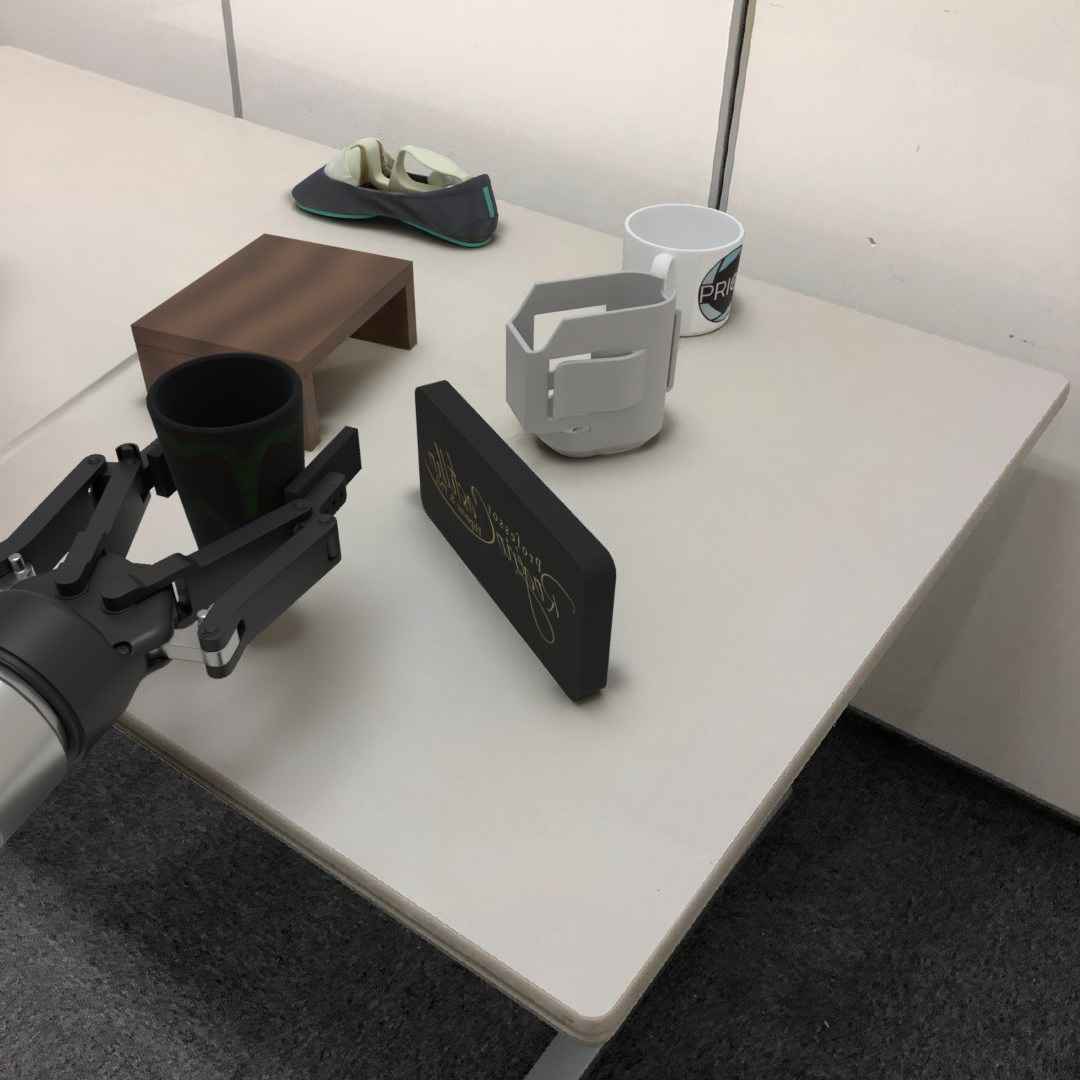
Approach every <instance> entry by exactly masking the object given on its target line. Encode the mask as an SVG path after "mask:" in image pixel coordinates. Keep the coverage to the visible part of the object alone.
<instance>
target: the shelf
mask: <svg viewBox="0 0 1080 1080" xmlns="http://www.w3.org/2000/svg"><path fill="white" fill-rule="evenodd" d="M414 276H415V275H414V261H413V260H409V259H403V258H398V257H393V256H387V255H382V254H379V253H371V252H367V251H361V250H356V249H351V248H346V247H340V246H339V247H338V246H334V245H329V244H323V243H318V242H313V241H307V240H302V239H296V238H291V237H286V236H282V235H281V236H280V235H275V234H271V233H264V232H263V234H261V235H260V236H258V237H257V238H255V239H254V240H252V241H251V242H249V243H248V244H247V245H245V246H243V247H242V248H240V249H239V250H238V251H236V252H235V253H233V254H232V255H230V256H228V257H227V258H226V259H224V260H223V261H222V262H220V263H219V264H217V265H216V266H214V267H213V268H211V269H210V270H208V271H207V272H206V273H204V274H202V275H201V276H199V277H198V278H197V279H195V280H194V281H192V282H191V283H189V284H188V285H186V286H185V287H183V288H182V289H180V290H179V291H178V292H176V293H175V294H173V295H172V296H170V297H169V298H167V299H165V301H163V302H162V303H160V304H159V305H157V306H156V307H154V308H153V309H151V310H150V311H149V312H147V313H145V314H144V315H143V316H141V317H140V318H138V319H137V320H136V321H134V322H132V323H130V329H131V333H132V337H133V341H134V342H133V343H134V345H135V349H136V353H137V357H138V362H139V365H140V370H141V374H142V377H143V382H144V386H145V391H146V395H147V394H148V391H149V388H150V387H151V386H152V385H153V384H154V382H155V381H156V380H157V379H158V378H159V377H160V376H161V375H163V374H164V373H165V372H167V371H168V370H170V369H171V368H174V367H176V366H178V365H180V364H182V363H184V362H187V361H190V360H193V359H196V358H199V357H204V356H209V355H214V354H222V353H234V352H236V353H254V354H260V355H266V356H269V357H272V358H275V359H278V360H281V361H282V362H284V363H286V364H287V365H289V366H291V367H292V368H293V369H294V370H295V371H296V372H297V373H298V374H299V375H300V378H301V381H302V384H303V417H304V451H308V452H312V451H313V450H314V449H315V448H316V447H317V446H318V445H319V444H320V443H321V441H322V440H321V439H322V438H321V431H320V424H319V417H318V409H317V400H316V393H315V386H314V385H315V384H314V378H313V371H314V370H315V369H316V368H317V367H318V366H319V365H320V364H321V363H322V362H324V361H325V360H326V359H327V358H328V357H329V356H330V355H331V354H333V352H335V350H337V349H338V348H339V347H340V346H341V345H342V344H343V343H344V342H345V341H347V339H354V340H358V341H363V342H368V343H373V344H377V345H383V346H387V347H391V348H396V349H400V350H406V351H411V350H412V349H413V348H414V347H415V346H416V345H417V344H418V331H417V330H418V329H417V314H416V313H417V311H416V297H415V294H416V293H415V277H414Z"/></svg>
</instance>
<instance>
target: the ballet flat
mask: <svg viewBox="0 0 1080 1080" xmlns="http://www.w3.org/2000/svg"><path fill="white" fill-rule="evenodd" d="M383 145H384V144H383V143H382V141H381V139H379V138H378V137H371V136H368V137H365V138H364V137H363V138H360V139H358V140H357V141H356V142H354V143H353V144H351V145H349V146H344V147H343V148H342V150H341V151H340V153H339V154H338V155H335V156H333V157H332V158H331V159H330V160H329V161H328V162H327V163H325V164H324V165H322V167H320V168H318V169H316V170H315V171H314V172H313V173H311V174H309V175H308V176H307V177H305V178H304V179H302V180H301V181H300V182H298V183H297V184H296V185H295V186H294V187H293V188H292V190H291V197H292V198H293V199H294V200H295V202H296V205H297V207H299V208H300V209H302V210H305V211H307V212H310V213H314V214H317V215H321V216H326V217H331V218H332V217H333V218H342V219H343V218H344V219H370V218H375V217H377V216H382V217H388V218H393V219H397V220H400V221H401V222H404V223H406V224H408V225H410V226H412V227H415V228H417V229H420V230H422V231H424V232H426V233H429V234H431V235H434V236H435V237H438V238H440V239H443V240H445V241H448V242H451V243H454V244H457V245H460V246H462V247H468V248H477V247H482V246H484V245H487V244H488V243H489V242H490V241H491V239H492V236H493V233H495V232H496V230H497V228H498V224H499V216H500V215H499V212H498V206H497V201H496V198H495V197H496V196H495V194H494V190H493V186H492V180H491V177H490V176H489V174H487V173H481V174H479V175H477V176H474V177H473V176H471V175H470V174H468V173H467V172H465V171H464V170H462V169H461V167H459V166H458V164H456V163H455V162H454V161H452V160H451V159H449V158H447V157H446V156H444V155H442V154H439V153H438V152H435V151H432V150H430V149H426V148H422V147H421V148H420V147H417V146H414V145H412V144H406V145H404V146H402V147H401V148H399V150H398V151H397V153H396V157H393V155H392V154H391V153H389V152H388V151H387V150H386V149H385V148H384V146H383ZM406 153H408V154H409V155H410V156H412V158H413V159H414V160H415V161H417V162H418V163H419V164H421V165H422V166H424V167H426V168H428V169H430V170H432V171H431V172H430V173H429V174H428V175H424V174H418V173H413V172H410V171H406V168H405V157H406Z"/></svg>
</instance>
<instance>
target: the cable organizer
mask: <svg viewBox="0 0 1080 1080" xmlns="http://www.w3.org/2000/svg"><path fill="white" fill-rule="evenodd" d="M664 282H665V278H664V277H662V276H660V275H657V274H654V273H650V272H644V271H634V270H627V271H622V270H618V271H617V270H616V271H610V272H602V273H596V274H595V273H594V274H588V275H580V276H574V277H573V276H572V277H566V278H559V279H550V280H545V281H536V282H535V283H534V284H533V285H532V287H531V289H530V290H529V292H528V294H527V295H526V296H525V298H524V300H523V302H522V303H521V304H520V306H519V308H518V310H517V311H516V312H515V313H514V314H513V315H512V316H511V317H510V318H509V319H508V321H507V322H506V323H505V402H506V403H507V405H508V407H509V408H510V410H511V412H512V413H513V415H514V416H515V418H516V419H517V421H518V423H519V425H520V426H521V428H522V429H523V431H524V432H526V433H529V434H533V435H534V434H535V435H537V437H538V438H539V440H541V441H542V442H543V443H544V444H546V445H547V446H548V447H549V448H551V449H552V450H553V451H555V452H556V453H558V454H560V455H562V456H565V457H569V458H576V459H577V458H579V459H581V458H582V459H583V458H589V457H595V456H598V455H603V454H608V453H612V452H618V451H622V450H629V449H633V448H638V447H640V446H642V445H644V444H645V443H647V442H648V441H649V440H651V439H652V438H653V437H655V436H656V435H657V434H658V433H660V431H661V430H662V427H663V422H664V421H663V420H664V412H665V403H666V395H667V393H669V392H670V391H671V390H672V389H673V388H674V384H675V378H676V377H675V376H676V367H677V359H678V352H679V351H678V350H679V342H680V336H679V335H680V326H681V317H682V311H681V309H680V308H679V307H678V306H677V305H676V297H677V290H676V289H673V290H672V295H671V297H670V298H668V297H667V296H666V294H665V292H664ZM598 306H599V307H600V306H605V311H599V312H594V313H593V312H592V313H587V314H581V315H573V316H566V317H563V318H562V319H561V320H560V322H559V323H558V325H557V326H556V328H555V330H554V331H553V333H552V334H551V335H550V337H549V339H548V340H547V342H546V343H545V345H544V346H542V347H541V348H539V349H537V350H535V349H534V348H535V347H534V345H535V316H536V315H545V314H552V313H557V312H564V311H571V310H578V309H587V308H592V307H593V308H594V307H598ZM587 354H590V358H587V359H586V358H585V359H572V360H570V359H569V360H564V361H561V362H559V363H558V364H557V365H555V366H554V369H550V361H551V360H556V359H562V358H568V357H575V356H580V355H587ZM550 391H553V393H552V394H551V395H549V392H550ZM585 427H586V428H587V427H588V430H575V429H581V428H585Z"/></svg>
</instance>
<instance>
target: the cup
mask: <svg viewBox="0 0 1080 1080" xmlns="http://www.w3.org/2000/svg"><path fill="white" fill-rule="evenodd" d="M145 402H146V409H147V412H148V414H149V417H150V420H151V422H152V427H153V429H154V431H155V433H156V436H157V437H158V439H159V442H160V445H161V448H162V450H163V453H164V456H165V459H166V461H167V464H168V467H169V470H170V472H171V475H172V478H173V481H174V483H175V486H176V489H177V491H176V492H177V495H178V497H179V500H180V503H181V506H182V508H183V511H184V514H185V517H186V519H187V522H188V525H189V528H190V531H191V532H192V535H193V538H194V541H195V544H196V547H197V550H199V549H201V548H203V547H205V546H207V545H209V544H211V543H213V542H214V541H216V540H218V539H220V538H222V537H224V536H226V535H228V534H230V533H232V532H234V531H236V530H237V529H239V528H241V527H243V526H245V525H247V524H249V523H251V522H253V521H255V520H257V519H258V518H260V517H262V516H264V515H266V514H268V513H270V512H272V511H274V510H276V509H278V508H280V507H281V506H283V505H285V504H286V501H285V494H284V490H285V488H286V487H287V486H288V485H289V484H290V483H291V482H292V481H293V480H294V479H295V478H296V477H297V476H298V475H299V474H300V473H301V472H302V471H303V470H304V469H305V468H306V456H305V451H306V450H304V417H303V384H302V381H301V378H300V375H299V374H298V373H297V372H296V371H295V370H294V369H293V368H292V367H291V366H289V365H287V364H286V363H284V362H282V361H281V360H278V359H275V358H272V357H269V356H266V355H260V354H254V353H236V352H234V353H222V354H214V355H209V356H204V357H199V358H196V359H193V360H190V361H187V362H184V363H182V364H180V365H178V366H176V367H174V368H171V369H170V370H168V371H167V372H165V373H164V374H163V375H161V376H160V377H159V378H158V379H157V380H156V381H155V382H154V384H153V385H152V386H151V387H150V388H149V391H148V394H147V393H146V397H145ZM157 437H156V438H157Z"/></svg>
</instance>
